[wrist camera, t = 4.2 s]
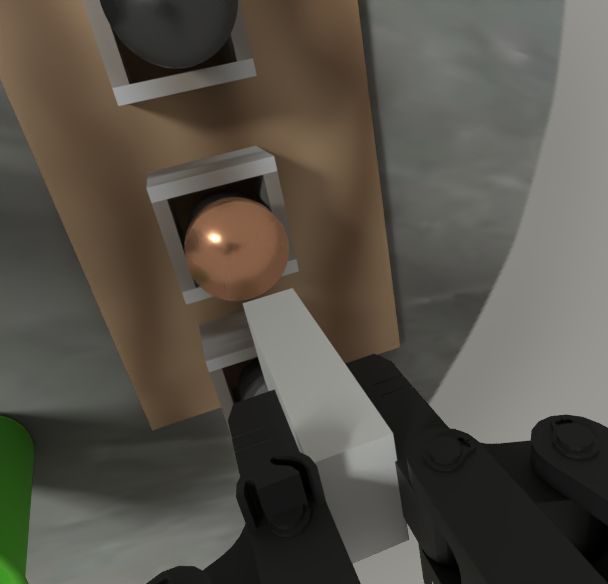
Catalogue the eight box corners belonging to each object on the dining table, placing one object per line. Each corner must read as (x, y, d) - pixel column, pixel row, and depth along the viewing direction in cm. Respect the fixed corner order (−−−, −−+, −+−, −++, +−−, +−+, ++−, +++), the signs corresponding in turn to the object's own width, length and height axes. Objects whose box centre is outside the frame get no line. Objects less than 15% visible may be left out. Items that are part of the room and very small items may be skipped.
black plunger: (131, 81, 20) (125, 79, 16) (92, -41, 19) (72, -81, 14) (231, 60, 21) (251, 53, 17) (204, -59, 19) (218, -103, 15)
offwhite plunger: (241, 421, 29) (257, 482, 24) (222, 361, 27) (235, 416, 22) (310, 397, 29) (338, 452, 25) (296, 337, 28) (323, 385, 23)
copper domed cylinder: (194, 274, 25) (202, 313, 21) (168, 193, 23) (171, 217, 19) (273, 251, 26) (297, 284, 22) (254, 171, 24) (277, 190, 20)
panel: (152, 419, 33) (152, 481, 28) (-38, -27, 21) (-99, -63, 16) (393, 339, 36) (433, 381, 31) (337, -88, 24) (386, -135, 19)
